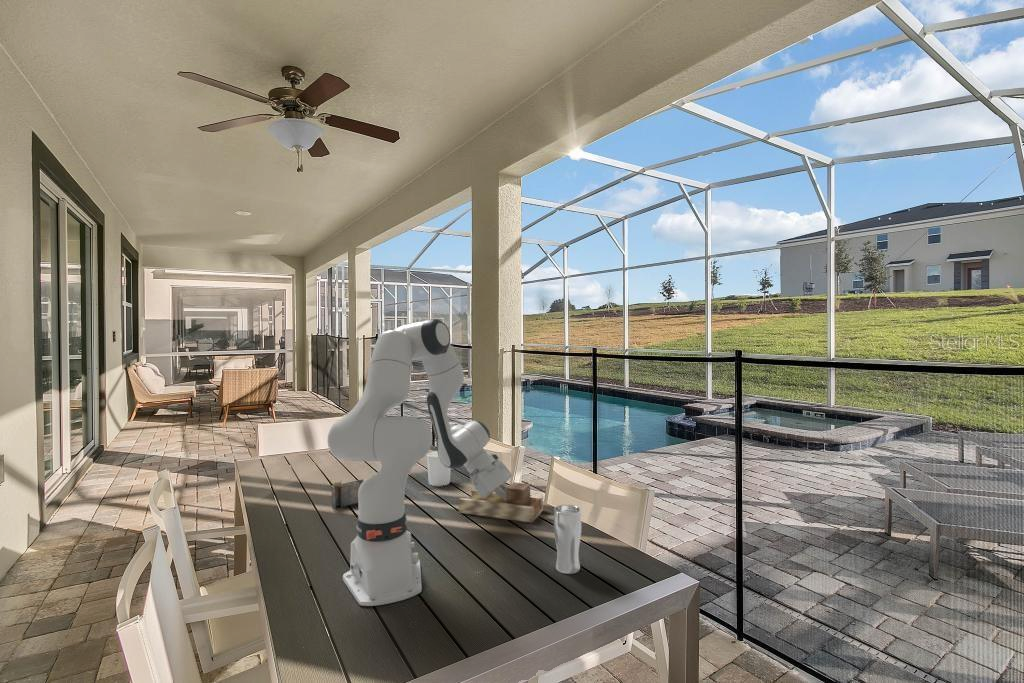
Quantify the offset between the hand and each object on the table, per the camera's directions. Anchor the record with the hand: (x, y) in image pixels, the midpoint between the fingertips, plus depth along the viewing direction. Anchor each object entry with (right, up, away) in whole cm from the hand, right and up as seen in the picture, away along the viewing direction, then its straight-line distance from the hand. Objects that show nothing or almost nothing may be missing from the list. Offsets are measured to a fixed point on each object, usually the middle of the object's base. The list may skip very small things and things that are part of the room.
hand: (508, 497), depth 159 cm
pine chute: (-2, -5, +1) cm, 6 cm away
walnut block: (+3, -4, -1) cm, 5 cm away
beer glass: (+15, -5, -39) cm, 42 cm away
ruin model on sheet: (-57, -6, +11) cm, 58 cm away
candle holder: (-28, -5, +33) cm, 44 cm away
